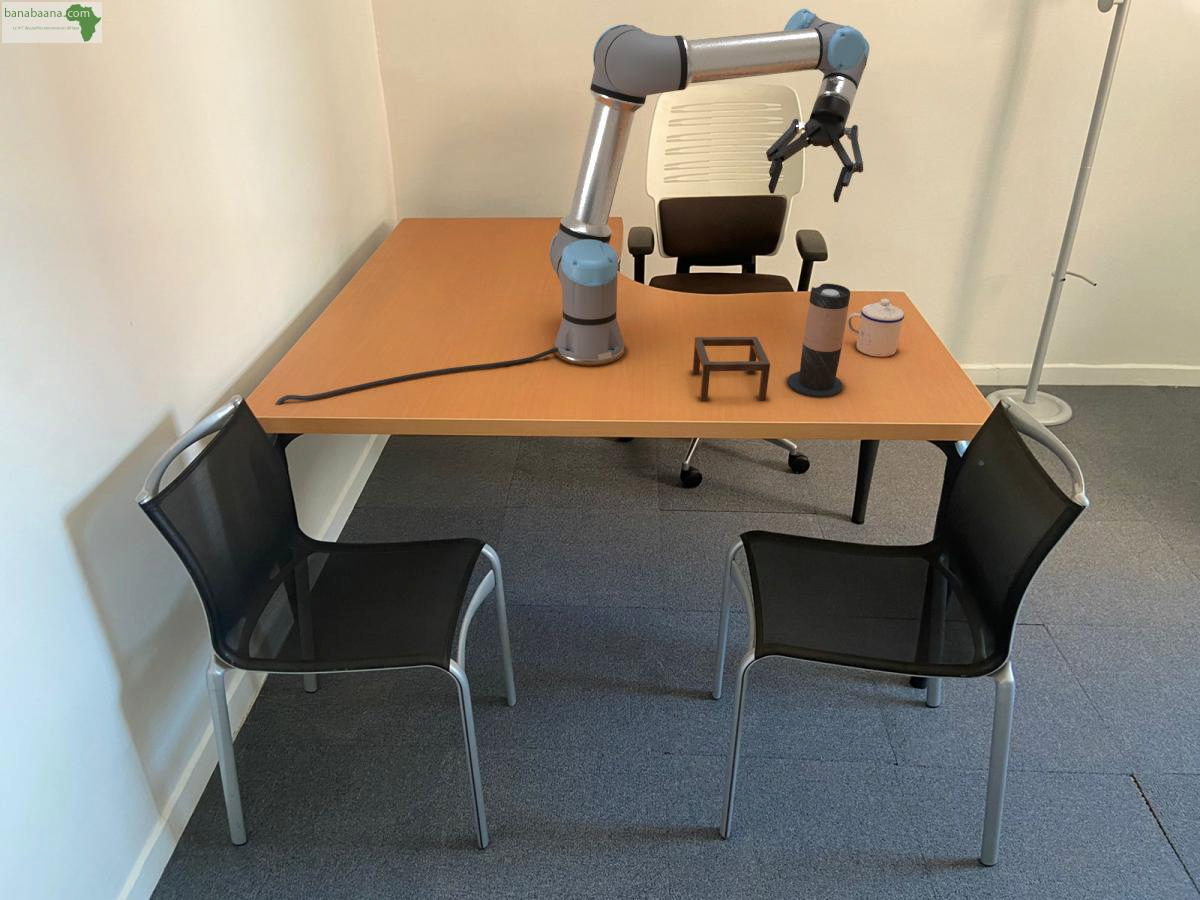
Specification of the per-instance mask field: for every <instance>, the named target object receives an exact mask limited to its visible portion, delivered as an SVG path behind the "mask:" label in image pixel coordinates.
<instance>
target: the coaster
mask: <svg viewBox="0 0 1200 900" xmlns="http://www.w3.org/2000/svg"><path fill="white" fill-rule="evenodd" d="M799 375H800V371H796V372H793V373H792V374H790V375H789V376H788V378H787V386H788V387H789V388H790V389H791V390H792V391H794V392H795V393H797V394H800V395H803V396H807V397H812V398H829V397H834V396H836V395H838V394H840V393H841V392H842V390H843V383H842V381H841V380H840V379H839V378H838V377H836V378H835V383H834V386H833V387H832V388H830V389H827V390H813V389H809V388H806V387H804V386H803V385H801V384H800V382H799Z"/></svg>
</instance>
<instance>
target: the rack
mask: <svg viewBox="0 0 1200 900" xmlns="http://www.w3.org/2000/svg"><path fill="white" fill-rule="evenodd" d="M706 347H749V352H748V353H749V354H748V361H747V360H746V361H745V360H744V361H743V360H742V361H741V360H740V361H739V360H737V361H736V360H735V361H730V360H729V361H727V360H725V361H710V359H709V357H708V353H707V350H706ZM701 368H702V369H701ZM770 368H771V363H770V360H769V358H768V356H767V354H766V352H765V350H764V348H763V346H762V343H761V342H760V340H759V338H758V336H696V337H694V345H693V360H692V375H700V372H701V379H700V380H701V382H700V391H699V392H700V393H699V399H700V402H707V401H708V399H709V398H708V397H709V385H710V376H711V375H710V373H711V372H747V374H748V375H755V373H756V372H760V379H759V388H758V394H757V397H758V400H759V401H766V400H767V395H768V394H767V393H768V385H769V378H770V377H769V375H770Z"/></svg>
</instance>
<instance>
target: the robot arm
mask: <svg viewBox="0 0 1200 900" xmlns="http://www.w3.org/2000/svg"><path fill="white" fill-rule="evenodd" d="M869 54H870V44H869V41H868V40H867V39H866V38H865V37H864V35H863V34H862V32H861V31H860V30H858V29H856V28H854V27H853V26H850V25H844V24H839V23H835V22H832V21H831V22H830V21H826V20H823V19H821V18H820V17H818V16H817V14H816V13H814V12H812V11H810V10H809V9H807V8H801V9H799V10H797V11H795V12H794V13H793V14H792V16H791V17H790V18H789V19H788V21H787V23H786V24H785V26H784V28H783V30H779V31H767V32H759V33H758V32H757V33H749V34H739V35H729V36H728V35H727V36H719V37H717V36H716V37H709V38H699V39H698V38H697V39H687V38H686V37H685V36H684V35H682V34H677V35H661V34H654V33H650V32H647V31H644V30H643V29H642V28H640V27H638V26H636V25H633V24H617V25H614V26H611V27H609V28H608V29H606V30H605V31H603V33H601V35H599V37H598V39H597V41H596V42H595V45H594V48H593V54H592V61H593V67H594V68H593V69H594V70H593V74H592V78H591V83H590V87H589V91H590V94H591V95H592V97H593V100H594V104H593V108H592V112H591V116H590V122H589V126H588V130H587V135H586V139H585V142H584V147H583V152H582V156H581V162H580V165H579V170H578V174H577V178H576V181H575V188H574V192H573V196H572V200H571V204H570V209H569V213H568V214H566V215H565V216H563V217H562V218H561V219H560V222H559V226H558V231H557V232H556V234H555V235H554V237H553V238H552V240H551V243H550V248H549V260H550V263H551V266H552V269H553V270H554V272H555V274H556V276H557V278H558V279H559V283H560V284H561V291H562V292H561V294H562V295H561V298H562V299H561V300H562V319H561V323H560V325H559V329H558V331H557V335H556V337H555V341H554V348H550V349H548V350H545V351H542V352H539V353H537V354H534V355H531V356H527V357H524V358H518V359H512V360H504V361H497V362H490V363H481V364H471V365H462V366H455V367H448V368H441V369H434V370H428V371H422V372H415V373H410V374H404V375H399V376H394V377H389V378H383V379H379V380H374V381H370V382H365V383H361V384H357V385H356V384H355V385H351V386H348V387H343V388H338V389H334V390H329V391H325V392H320V393H315V394H309V395H299V394H286V395H283V396H282V397H279V399H278V400H277V401H276V402H275V404H274V405H275V406H280V405H282V404H283V403H284V402H286V401H289V400H290V401H291V400H293V401H312V400H317V399H321V398H322V399H323V398H327V397H333V396H336V395H340V394H345V393H349V392H354V391H358V390H362V389H367V388H372V387H376V386H380V385H386V384H390V383H395V382H400V381H406V380H411V379H418V378H422V377H428V376H435V375H441V374H448V373H449V374H450V373H455V372H464V371H472V370H482V369H489V368H490V369H491V368H499V367H505V366H513V365H519V364H524V363H528V362H532V361H537V360H539V359H541V358H544V357H546V356H549V355H552V354H555V355H556V356H557V358H558V359H560V360H561V361H563V362H566V363H568V364H572V365H575V366H584V367H585V366H586V367H593V366H594V367H595V366H603V365H608V364H611V363H614V362H616V361H618V360H619V359H621V358H622V357H623V355H624V353H625V343H624V338H623V335H622V332H621V329H620V326H619V323H618V319H617V310H618V309H617V308H618V307H617V306H618V301H617V300H618V272H619V261H618V253H617V251H616V249H615V248H614V247H613V246H611V244H610V243H611V238H612V233H613V231H612V229H611V228H610V226H609V224H608V221H609V218H610V215H611V214H610V213H611V211H612V210H611V209H612V207H613V202H614V198H615V193H616V189H617V186H618V182H619V177H620V174H621V170H622V166H623V161H624V157H625V153H626V150H627V145H628V142H629V138H630V134H631V130H632V126H633V123H634V118H635V113H636V112H637V111H638V110H639V109H641V108H642V107H644V106H645V104H646V101H647V96H652V95H656V94H657V95H658V94H664V93H665V94H666V93H670V92H678V91H685V90H687V88H688V87H689V85H690V84H698V83H706V82H708V83H709V82H716V81H725V80H734V79H743V78H751V77H752V78H753V77H760V76H761V77H762V76H770V75H778V74H788V73H789V74H790V73H797V72H806V71H820V72H821V73H823V78H822V81H821V84H820V86H819V90H818V93H817V95H816V99H815V101H814V104H813V107H812V110H811V113H810V115H809V119H808V120H807V122H801V121H799V118H793V120H792V121H791V123H790V125H789V127H788V128H787V129H786V130H785V131H784V132H783V133H782V134H781V136H779V137H778V139H776V141H775V142H774V143H773V144H772V145H771V146H770V147H769V148H768V149H767V150H766V151H765V152H766V153H765V154H766V158H767V161H768V162H771V164H770V167H769V170H768V173H769V177H770V180H769V183H768V185H767V186H768V191H769V194H772V195H775V191H776V188H777V185H778V182H779V179H780V177H781V174H782V171H783V167H784V166H783V163H784V162H785V161H787V160H788V159H790V158H791V157H793V156H794V155H796V154H797V153H799V152H800V151H801V150H803V149H806V148H808V147H809V146H813V147H822V148H826V149H827V148H829V147H832V149H833V151H834V152H835V153H836V155H837V157H838V158H839V160H840V162H841V163H842V165H843V166H841V167H842V168H841V171H840V173H839V176H838V179H837V182H836V186H835V188H834V191H833V194H832V195H833V196H832V197H833V202H834V203H839V201H840V197H841V195H842V191H843V189H844V187H845V188H848V187H849V185H850V183H851V180H852V177H853V175H854V174H855V173H858V174H861V173H863V172H864V161H863V158H862V153H861V148H860V144H859V126H858V124H853V125H852V126H851V127H846V125H847V121H848V119H849V117H850V112H851V110H852V107H853V103H854V100H855V98H856V94H857V92H858V91H857V90H858V89H859V85H860V83H861V80H862V77H863V74H864V71H865V69H866V66H867V63H868V59H869ZM802 131H804V132H802ZM801 132H802V133H801ZM797 135H800V136H799V137H797ZM845 135H846V137H847V139H848V140H849V141H850V145H851V149H852V153H853V157H854V161H852V160H851V158H850V156H849V154H848V153H847V151H846V149H845V146H843V143H842V142H841V139H842V138H843V137H844V136H845ZM796 137H797V138H796ZM794 139H795V140H794Z"/></svg>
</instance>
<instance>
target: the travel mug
mask: <svg viewBox="0 0 1200 900" xmlns="http://www.w3.org/2000/svg"><path fill="white" fill-rule="evenodd" d="M850 298H851V290H850V289H849V288H848V287H846V286H844V285H840V284H836V283H822V284H820V285H819V286H817V287H814V286H812V287H811V289H810V295H809V302H808V308H807V314H806V320H805V327H804V334H803V339H802V346H801V347H802V348H801V356H800V357H801V358H800V367H799V372H800V375H799V382H800V384H801V385H803V386H804V387H806V388H809V389H813V390H827V389H830V388H832V387H833V386H834V383H835V378H837V373H838V367H839V364H840V358H841V353H842V349H843V343H844V336H845V330H846V325H847V319H848V311H849V306H850V305H849V304H850V300H851V299H850Z"/></svg>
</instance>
